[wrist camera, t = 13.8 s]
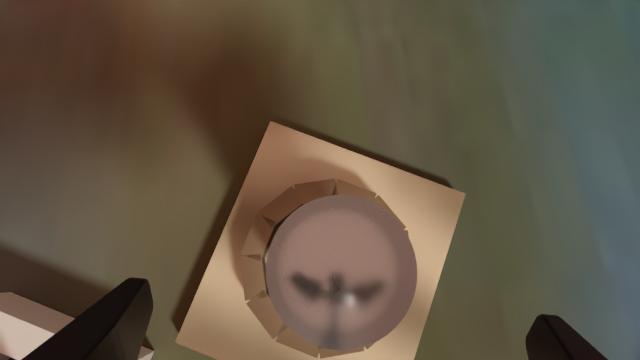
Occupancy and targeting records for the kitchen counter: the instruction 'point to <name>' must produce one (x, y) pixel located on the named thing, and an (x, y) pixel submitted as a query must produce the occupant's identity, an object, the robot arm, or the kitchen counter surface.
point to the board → (264, 221)
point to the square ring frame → (32, 326)
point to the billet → (341, 272)
